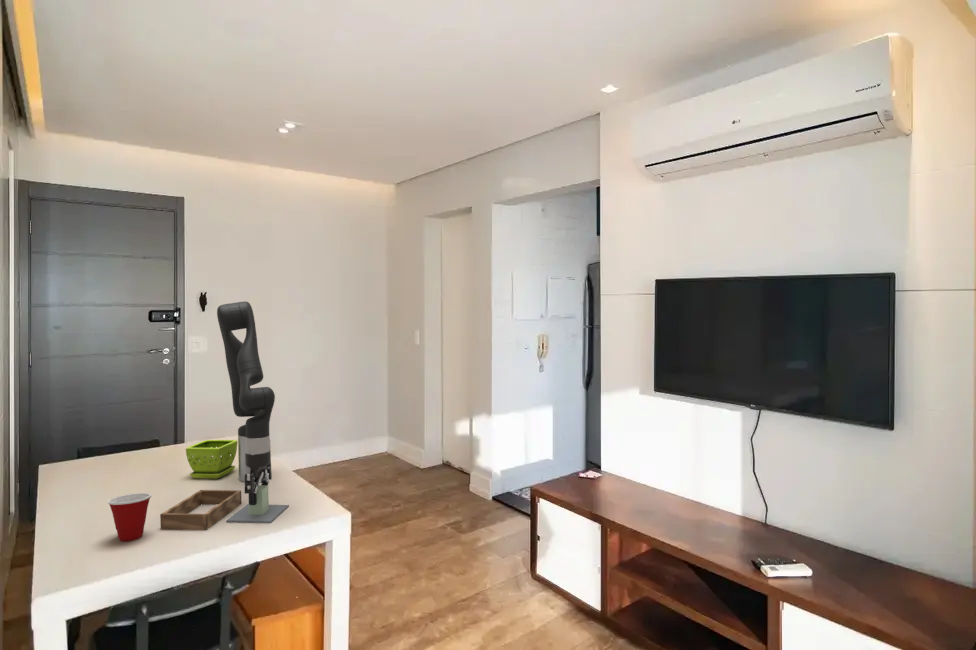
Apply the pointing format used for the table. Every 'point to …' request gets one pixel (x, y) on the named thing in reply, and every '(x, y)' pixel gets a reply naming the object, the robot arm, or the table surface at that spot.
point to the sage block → (260, 501)
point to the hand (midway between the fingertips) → (258, 500)
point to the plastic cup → (130, 515)
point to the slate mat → (267, 517)
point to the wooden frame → (184, 521)
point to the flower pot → (211, 458)
